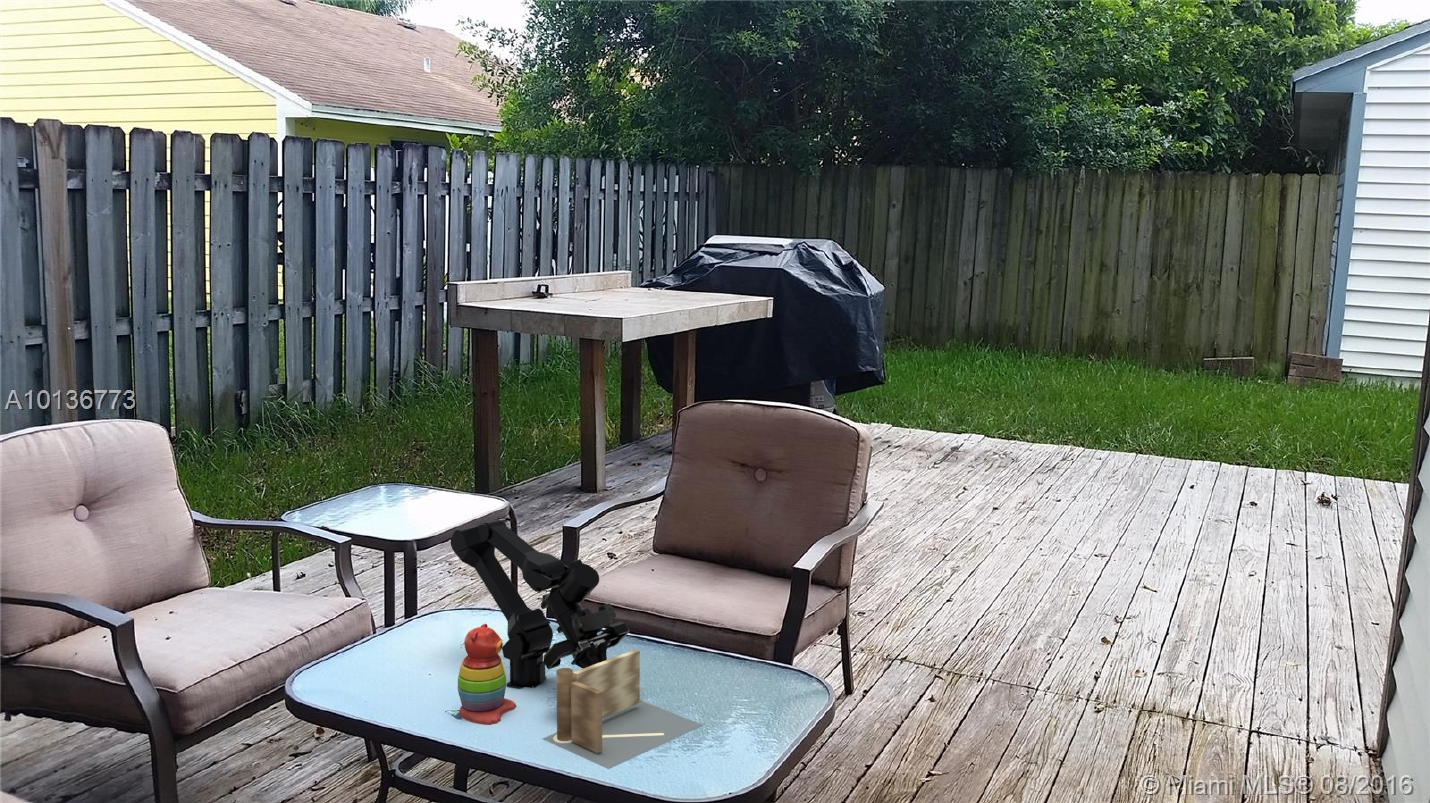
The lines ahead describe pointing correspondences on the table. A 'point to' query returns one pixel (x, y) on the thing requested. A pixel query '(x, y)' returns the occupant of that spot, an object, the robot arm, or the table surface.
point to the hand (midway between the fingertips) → (607, 681)
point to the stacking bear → (483, 678)
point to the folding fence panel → (614, 681)
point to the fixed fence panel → (578, 712)
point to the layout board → (631, 734)
